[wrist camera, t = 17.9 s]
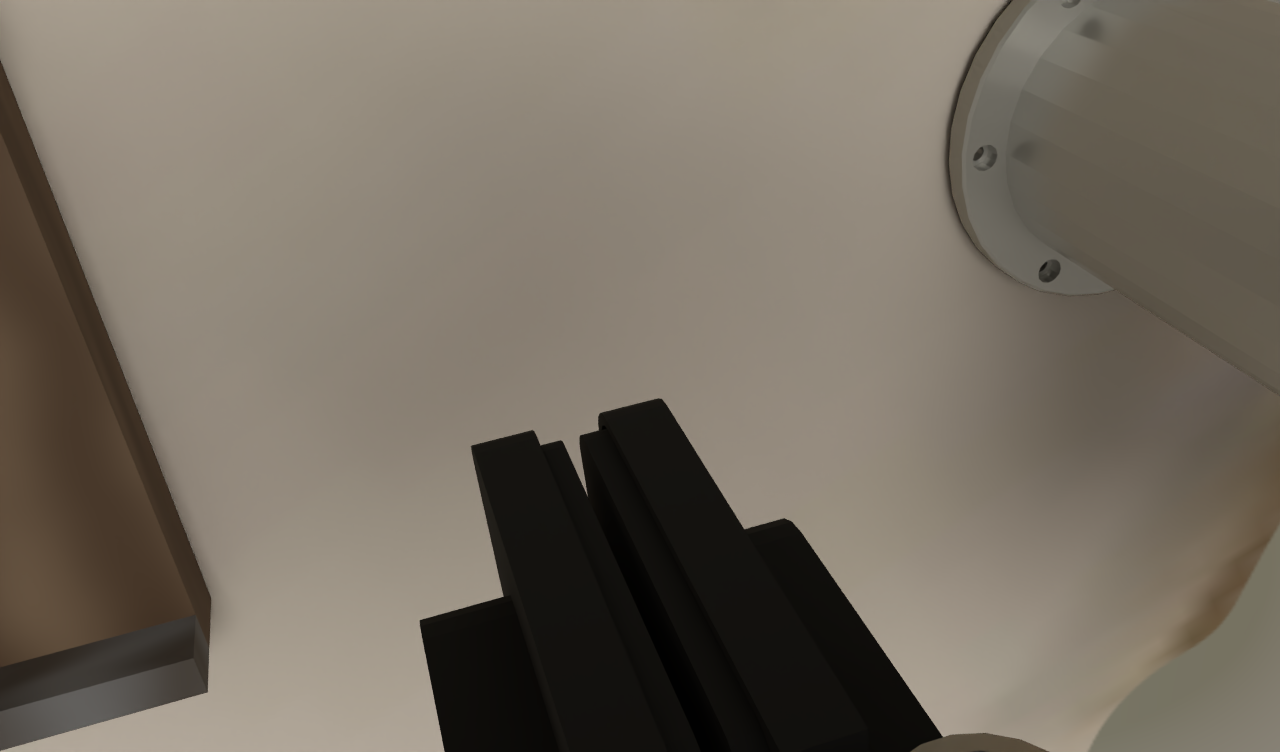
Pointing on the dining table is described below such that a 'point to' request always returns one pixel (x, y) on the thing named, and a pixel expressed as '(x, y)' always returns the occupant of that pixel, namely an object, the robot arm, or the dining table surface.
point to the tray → (78, 494)
